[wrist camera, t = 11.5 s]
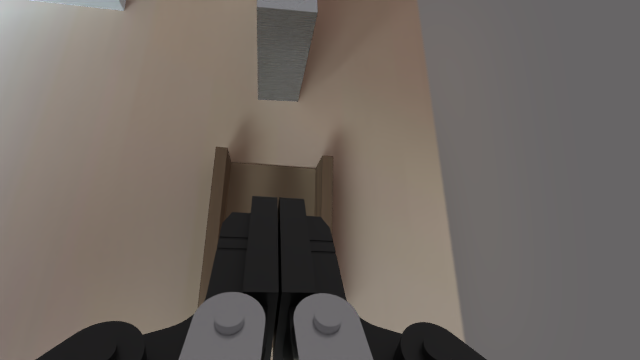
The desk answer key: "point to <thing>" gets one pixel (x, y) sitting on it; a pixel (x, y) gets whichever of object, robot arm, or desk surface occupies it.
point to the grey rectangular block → (283, 46)
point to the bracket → (92, 3)
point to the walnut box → (261, 180)
